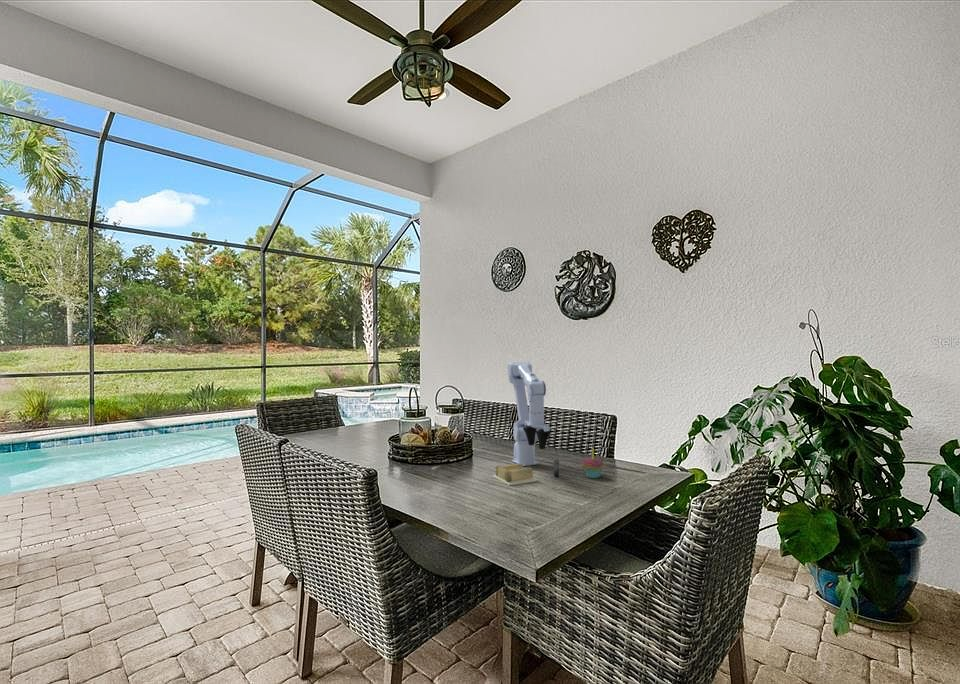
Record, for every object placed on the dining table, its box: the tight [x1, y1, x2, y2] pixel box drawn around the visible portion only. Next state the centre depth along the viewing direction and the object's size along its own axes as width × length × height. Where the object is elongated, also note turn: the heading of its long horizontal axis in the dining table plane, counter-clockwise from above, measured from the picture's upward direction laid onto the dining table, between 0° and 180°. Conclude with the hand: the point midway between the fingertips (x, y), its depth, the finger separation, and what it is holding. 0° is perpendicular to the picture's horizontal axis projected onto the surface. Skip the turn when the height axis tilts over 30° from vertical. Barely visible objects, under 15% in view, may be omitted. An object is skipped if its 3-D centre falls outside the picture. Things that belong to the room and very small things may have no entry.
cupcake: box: [580, 447, 605, 479], centre depth 176 cm, size 9×8×12 cm
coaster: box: [492, 474, 538, 486], centre depth 173 cm, size 12×12×1 cm
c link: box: [495, 463, 534, 482], centre depth 173 cm, size 9×11×4 cm
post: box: [553, 458, 560, 478], centre depth 176 cm, size 2×2×7 cm
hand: (536, 446), depth 180 cm, fingers open, 7 cm apart
